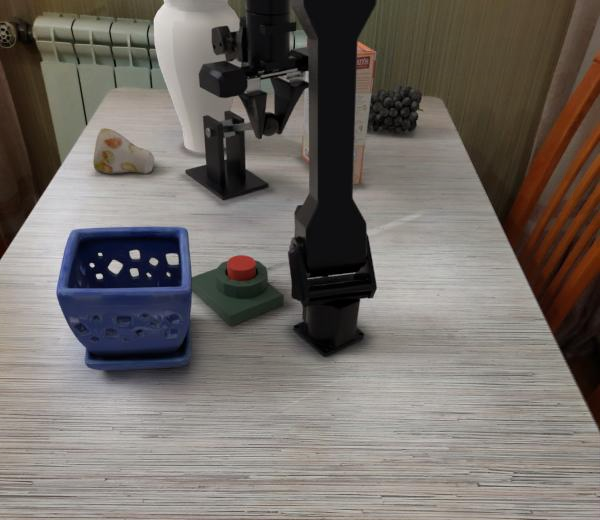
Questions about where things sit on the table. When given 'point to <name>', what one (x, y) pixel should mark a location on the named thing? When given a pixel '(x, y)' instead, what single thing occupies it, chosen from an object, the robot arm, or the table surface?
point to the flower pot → (128, 297)
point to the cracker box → (361, 108)
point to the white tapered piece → (120, 154)
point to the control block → (237, 294)
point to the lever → (269, 126)
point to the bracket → (225, 162)
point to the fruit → (394, 110)
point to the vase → (192, 60)
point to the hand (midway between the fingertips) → (268, 136)
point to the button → (241, 268)
